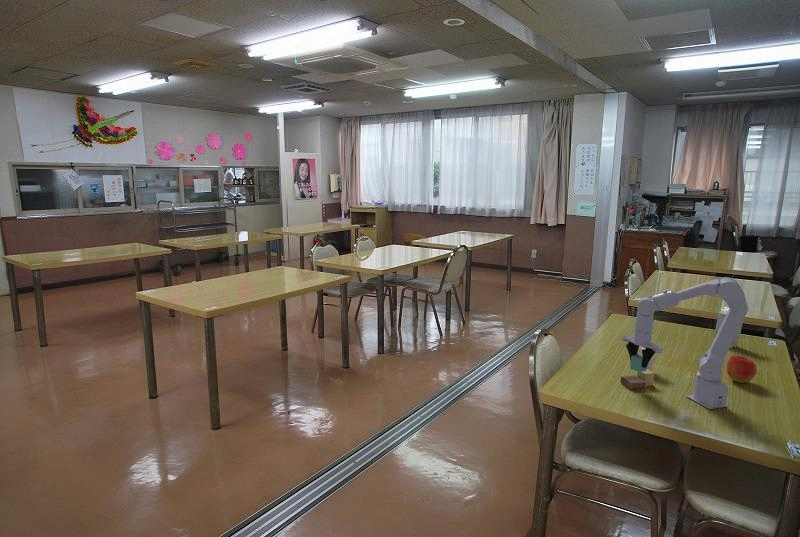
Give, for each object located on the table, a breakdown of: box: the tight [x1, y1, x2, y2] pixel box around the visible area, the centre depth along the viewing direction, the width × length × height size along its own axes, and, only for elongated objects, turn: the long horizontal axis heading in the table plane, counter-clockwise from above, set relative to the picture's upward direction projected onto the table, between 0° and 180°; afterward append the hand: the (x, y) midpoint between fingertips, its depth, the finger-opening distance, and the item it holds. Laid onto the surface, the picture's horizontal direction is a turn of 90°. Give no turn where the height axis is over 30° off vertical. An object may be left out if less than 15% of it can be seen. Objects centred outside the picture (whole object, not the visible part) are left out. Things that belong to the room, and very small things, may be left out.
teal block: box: [629, 353, 647, 372], centre depth 174 cm, size 4×4×5 cm
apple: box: [726, 355, 758, 384], centre depth 181 cm, size 10×10×10 cm
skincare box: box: [712, 310, 744, 349], centre depth 220 cm, size 8×7×16 cm
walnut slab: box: [620, 374, 646, 391], centre depth 176 cm, size 6×6×3 cm
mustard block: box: [636, 369, 655, 387], centre depth 178 cm, size 4×4×5 cm
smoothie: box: [639, 337, 657, 371], centre depth 189 cm, size 6×6×14 cm
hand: (638, 365), depth 174 cm, fingers closed on teal block, 4 cm apart
